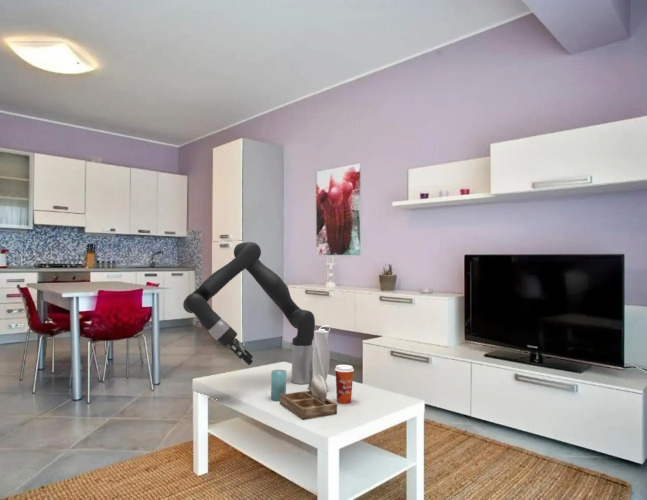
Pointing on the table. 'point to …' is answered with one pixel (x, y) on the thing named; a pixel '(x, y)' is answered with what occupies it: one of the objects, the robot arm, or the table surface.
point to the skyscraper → (320, 355)
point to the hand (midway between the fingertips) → (251, 360)
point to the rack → (310, 401)
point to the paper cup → (344, 383)
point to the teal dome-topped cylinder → (278, 384)
